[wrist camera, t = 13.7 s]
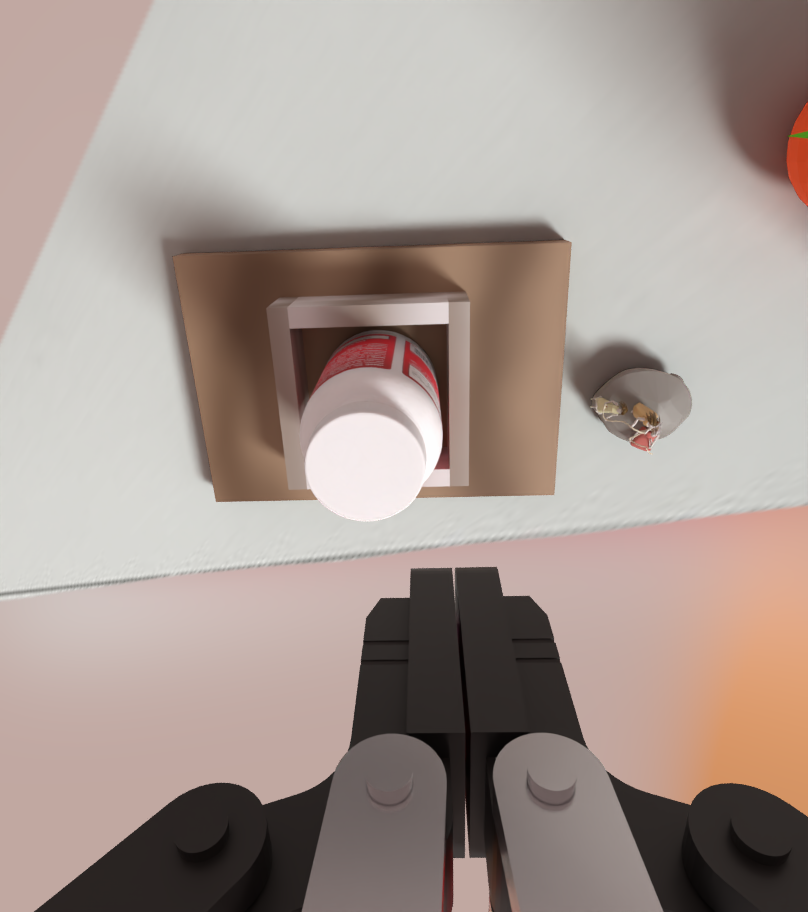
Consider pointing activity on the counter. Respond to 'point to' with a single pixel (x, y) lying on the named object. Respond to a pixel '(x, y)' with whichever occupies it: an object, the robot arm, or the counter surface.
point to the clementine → (799, 155)
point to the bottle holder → (392, 309)
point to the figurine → (642, 405)
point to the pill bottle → (372, 426)
